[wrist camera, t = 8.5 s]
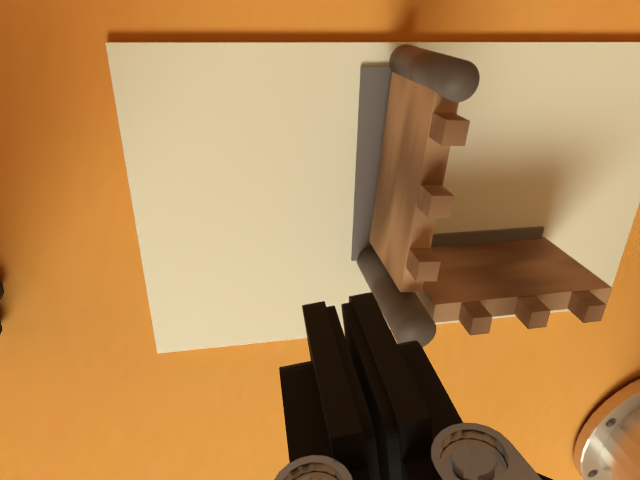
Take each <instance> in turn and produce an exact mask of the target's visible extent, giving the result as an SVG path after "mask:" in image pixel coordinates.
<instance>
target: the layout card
mask: <svg viewBox="0 0 640 480" xmlns="http://www.w3.org/2000/svg"><path fill="white" fill-rule="evenodd" d="M105 44H106V50H107V56H108V62H109V68H110V74H111V80H112V85H113V91H114V97H115V103H116V109H117V115H118V121H119V127H120V133H121V139H122V145H123V151H124V157H125V163H126V169H127V175H128V181H129V187H130V193H131V199H132V205H133V211H134V217H135V223H136V229H137V235H138V241H139V247H140V253H141V259H142V265H143V271H144V277H145V283H146V289H147V295H148V301H149V307H150V312H151V318H152V324H153V330H154V336H155V342H156V348H157V353H167V352H177V351H186V350H196V349H205V348H215V347H225V346H234V345H244V344H254V343H263V342H273V341H282V340H292V339H302V338H307V333H306V327H305V322H304V316H303V310H302V305H306V304H311V303H316V302H322V301H325V304H326V307H328V306H335V308H336V311H337V314H338V317H339V320H340V323H341V326H342V329H343V332H344V324H343V316H342V308H341V304H344V303H349V296H353V295H358V294H364V293H369V292H371V290H370V288H369V286H368V284H367V282H366V280H365V278H364V276H363V274H362V273H361V271H360V269H359V267H358V265H357V259H358V256H359V254H360V252H361V251H362V250H363V249H364V248H366V247H368V246H371V243H370V242H369V241H370V233H371V226H372V218H373V211H374V203H375V196H376V188H377V181H378V174H379V166H380V159H381V151H382V144H383V136H384V129H385V122H386V114H387V107H388V99H389V92H390V84H391V77H392V71H391V69H390V65H389V60H390V56H391V54H392V52H393V51H394V50H395V49H396V48H397V47H398V46H400V45H404V44H408V45H412V46H416V47H419V48H423V49H427V50H431V51H434V52H438V53H442V54H445V55H449V56H453V57H457V58H460V59H464V60H468V61H470V62H472V63H474V64H475V65H476V67H477V69H478V71H479V75H480V80H479V85H478V88H477V90H476V91H475V93H474V94H473V95H472V96H471V97H470V98H469V99H467V100H465V101H462V102H459V105H458V110H457V115H459V116H461V117H463V118H465V119H467V120H469V121H470V124H469V129H468V134H467V139H466V143H465V146H450V151H449V156H448V161H447V167H446V172H445V177H444V182H443V187H445V188H446V189H447V190H448V191H449V192H450V193H452V194H453V195H454V201H453V206H452V210H451V215H450V218H436V223H435V228H434V233H433V238H432V243H431V247H438V246H452V245H465V244H478V243H491V242H505V241H518V240H531V239H542V237H545V238H546V239H548V240H549V241H550V242H552V243H553V244H554V245H556V246H557V247H559V248H560V249H561V250H563V251H564V252H565V253H567V254H568V255H569V256H571V257H572V258H573V259H575V260H576V261H577V262H579V263H580V264H581V265H583V266H584V267H585V268H587V269H588V270H589V271H591V272H592V273H593V274H595V275H596V276H597V277H599V278H600V279H601V280H603V281H604V282H605V283H607V284H608V285H609V286H611V287H612V285H613V282H614V279H615V276H616V273H617V270H618V267H619V264H620V261H621V258H622V255H623V252H624V249H625V246H626V243H627V239H628V236H629V233H630V230H631V227H632V224H633V221H634V218H635V215H636V212H637V209H638V206H639V203H640V42H106V43H105ZM562 311H570V310H569V309H563V310H553V311H550V313H552V312H562ZM381 312H382V311H381ZM382 314H383V313H382ZM383 316H384V315H383ZM513 316H516V315H515V314H514V315H505V316H495V317H492V319H494V318H504V317H513ZM384 318H385V317H384ZM385 320H386V319H385ZM386 322H387V321H386ZM456 322H460V321H459V320H456V321H447V322H437V323H435V324H446V323H456ZM387 324H388V323H387ZM388 326H389V325H388ZM389 328H390V327H389ZM344 334H345V332H344Z"/></svg>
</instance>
